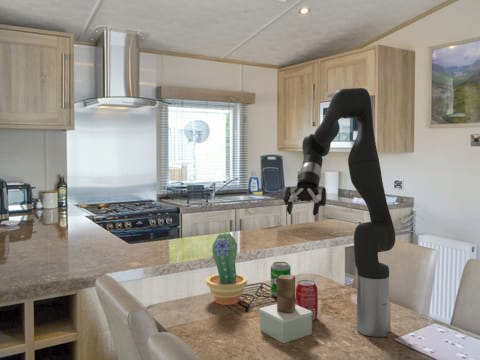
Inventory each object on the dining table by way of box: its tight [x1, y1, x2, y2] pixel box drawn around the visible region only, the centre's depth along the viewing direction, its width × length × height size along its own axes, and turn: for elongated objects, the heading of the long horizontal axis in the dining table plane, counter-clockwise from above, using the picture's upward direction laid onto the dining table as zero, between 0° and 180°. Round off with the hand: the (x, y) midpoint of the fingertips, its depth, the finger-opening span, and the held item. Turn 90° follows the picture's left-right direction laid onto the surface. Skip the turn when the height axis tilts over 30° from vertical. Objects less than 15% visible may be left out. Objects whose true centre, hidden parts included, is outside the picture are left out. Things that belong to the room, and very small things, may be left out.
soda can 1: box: [270, 261, 292, 297], centre depth 164 cm, size 8×8×12 cm
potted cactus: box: [205, 232, 248, 306], centre depth 157 cm, size 15×15×25 cm
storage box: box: [258, 303, 313, 344], centre depth 130 cm, size 11×11×7 cm
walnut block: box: [276, 275, 296, 313], centre depth 129 cm, size 4×4×10 cm
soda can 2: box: [295, 279, 319, 321], centre depth 140 cm, size 7×7×12 cm
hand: (301, 213), depth 144 cm, fingers open, 8 cm apart
